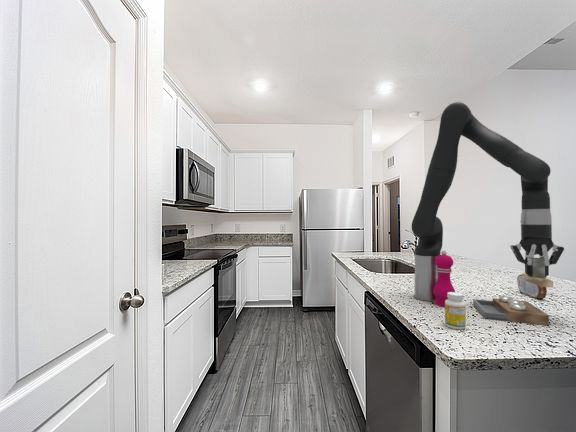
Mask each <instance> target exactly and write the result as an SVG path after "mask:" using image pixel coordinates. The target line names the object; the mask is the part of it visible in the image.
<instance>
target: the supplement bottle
mask: <svg viewBox="0 0 576 432" xmlns="http://www.w3.org/2000/svg"><path fill="white" fill-rule="evenodd" d="M447 297H448V299H447V300H446V301H445V307H444V324H445V325H444V326H446V327H447V328H451V329H454V330H465V329H466V328H467V314H466V312H467V304H466V302H465V301H463V300H464V294H462V293H460V292H456V291H455V292H448V293H447Z"/></svg>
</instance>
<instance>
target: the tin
mask: <svg viewBox="0 0 576 432" xmlns="http://www.w3.org/2000/svg"><path fill="white" fill-rule="evenodd" d="M516 281H517V288H518V290H519V292H520V293H522V294H523V295H525V296H528V297H530V298H533V299H537V300H540V299H541V300H544V299H545V298H546V296H547V294H548V293H547V292H548V291H547V287H540V286H538V285H535V284H533V283H531V282H528V281H526V280H523V279H522V274H519V275H518V276H517V279H516Z"/></svg>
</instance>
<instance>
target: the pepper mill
mask: <svg viewBox="0 0 576 432" xmlns="http://www.w3.org/2000/svg"><path fill="white" fill-rule="evenodd" d="M435 264H436V265H437V268H436V269H437V270H436V271H437V272H438V280H437V282H436V284H435V286H434V289H433V294H434V295H435V296H436V298H435V301H434V305H436V306H438V307H439V306H440V307H442V308H445V301H446V300H447V299H448V297H447V293H448V292H456V290H455V287H454V285H453V283H452V280H451V273H452V269H453V268H452V266H454V259H453V257H451V256H450V255H448V254H447V251H446V250H443V249H442V250H441V252H440V255H438V256H437V257H436V258H435Z"/></svg>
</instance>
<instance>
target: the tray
mask: <svg viewBox="0 0 576 432" xmlns="http://www.w3.org/2000/svg"><path fill="white" fill-rule="evenodd" d="M472 305H473V306H474V307H475V308H476V309H477V311H478V312H479V313H480V314H481V316H482V317H483V318H484V319H485V320H486V319H487V320H496V321H504V322H509V321H508V314H503V313H500V312H499V311H498V310H497V309H496V308H495V307H494V306H493V300H486V299H475V298H473V299H472Z"/></svg>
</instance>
